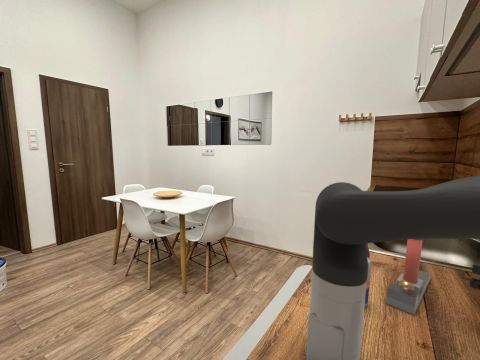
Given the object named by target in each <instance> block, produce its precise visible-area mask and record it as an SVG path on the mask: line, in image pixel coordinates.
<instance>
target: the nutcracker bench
mask: <svg viewBox="0 0 480 360" xmlns="http://www.w3.org/2000/svg"><path fill="white" fill-rule="evenodd" d="M401 274H404V271H403V272H402V273H401ZM418 279H420V280H423V285H422V287H421V290H420V292H416V291H414V286H413V284H412V283H411V282H410V281H408V280H401V281H399V282H398V285H397V281H396V282H395V283H393V282H390V283H389V285H388V286H387V291H386V300H385V304H386V305H389V306H391V307H393V308H395V309H398V310H400V311H403V312H404V313H405V312H406V313H407V314H410V315H413V316H415V314H416V311H417V309H418V307H419V306H420V304H421V303H420V302H421V300H422V298H423V297H424V294H425V292H426V289H427V287H428V285H429V283H430V280H431V272H427V271H424V270H420V269H419V273H418Z"/></svg>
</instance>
